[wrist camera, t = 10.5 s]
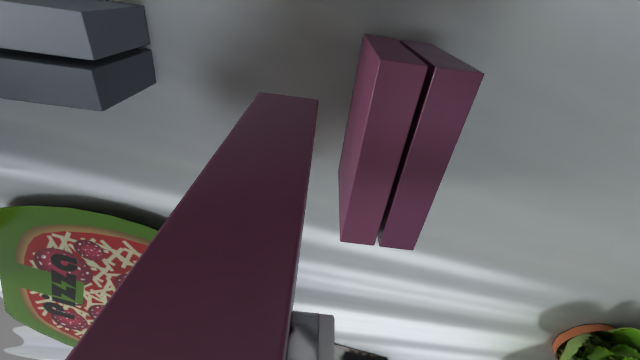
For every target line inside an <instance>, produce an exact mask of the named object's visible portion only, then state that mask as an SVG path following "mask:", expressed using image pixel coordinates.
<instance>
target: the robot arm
mask: <svg viewBox="0 0 640 360" xmlns="http://www.w3.org/2000/svg"><path fill="white" fill-rule="evenodd" d="M286 360H334V317H333V315H325V314H319V313H308V312H297V311H292V314H291V322H290V330H289V337H288V345H287V352H286Z"/></svg>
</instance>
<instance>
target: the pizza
mask: <svg viewBox="0 0 640 360" xmlns="http://www.w3.org/2000/svg"><path fill="white" fill-rule="evenodd" d="M157 232H158V231H157V230H155V229H152V228H150V227H147V226H144V225H141V224H138V223H134V222H131V221H128V220H124V219H121V218H118V217H114V216H111V215H106V214H101V213H95V212H90V211H85V210H79V209H74V208H66V207H49V206H32V205H28V206H17V207H5V208H0V279H1V285H2V292H3V298H4V304H5V311H6V312H7V313H9V314H10V315H11V316H12V317H13V318H14V319H16V320H17V321H19V322H21V323H23V324H25V325H26V326H28V327H30V328H32V329H34V330H36V331H38V332H40V333H42V334H44V335H46V336H49V337H51V338H53V339H55V340H58V341H60V342H62V343H64V344H67V345H69V346H72V347H75V346H76V344H77V343H78V341H79V340H80V339H81V337H82V336H83V335H84V333H85V332H86V330H87V329H88V328H89V326H90V325H91V324H92V322H93V321H94V319H95V318H96V317H97V315H98V314H99V312H100V311H101V310H102V308H103V307H104V306H105V304H106V303H107V301H108V300H109V299H110V297H111V296H112V295H113V293H114V292H115V290H116V289H117V288H118V286H119V285H120V284H121V282H122V281H123V279H124V278H125V277H126V275H127V274H128V272H129V271H130V270H131V268H132V267H133V266H134V264H135V263H136V261H137V260H138V259H139V257H140V256H141V255H142V253H143V252H144V250H145V249H146V248H147V246H148V245H149V244H150V242H151V241H152V239H153V238H154V237H155V235H156V234H157Z"/></svg>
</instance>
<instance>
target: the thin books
mask: <svg viewBox="0 0 640 360" xmlns="http://www.w3.org/2000/svg"><path fill="white" fill-rule="evenodd" d="M483 76H484V73H482V72H481V71H479V70H477V69H475V68H473V67H472V66H470V65H468V64H466V63H465V62H463V61H461V60H459V59H457V58H456V57H454V56H452V55H450V54H449V53H447V52H445V51H443V50H441V49H440V48H438V47H436V46H434V45H433V44H430V43H423V42H416V41H409V40H402V39H400V41H399V42H398V41H397V40H396V39H394V38H388V37H381V36H374V35H366V34H364V35H363V40H362V45H361V51H360V56H359V62H358V67H357V72H356V78H355V83H354V89H353V94H352V100H351V105H350V111H349V116H348V122H347V127H346V133H345V138H344V144H343V149H342V155H341V160H340V166H339V171H338V176H339V217H340V241H341V242H348V243H357V244H365V245H374V244H375V241H376V238H377V236H378V242H379V246H380V247H389V248H397V249H406V250H413V249H414V247H415V244H416V242H417V239H418V237H419V234H420V232H421V229H422V227H423V225H424V222H425V220H426V217H427V215H428V212H429V210H430V207H431V205H432V202H433V200H434V197H435V195H436V192H437V190H438V187H439V185H440V183H441V180H442V178H443V175H444V173H445V170H446V168H447V165H448V163H449V160H450V158H451V155H452V153H453V150H454V148H455V145H456V143H457V141H458V138H459V136H460V133H461V131H462V128H463V126H464V123H465V121H466V118H467V116H468V113H469V111H470V108H471V106H472V103H473V101H474V98H475V96H476V94H477V91H478V89H479V86H480V84H481V81H482V79H483Z"/></svg>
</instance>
